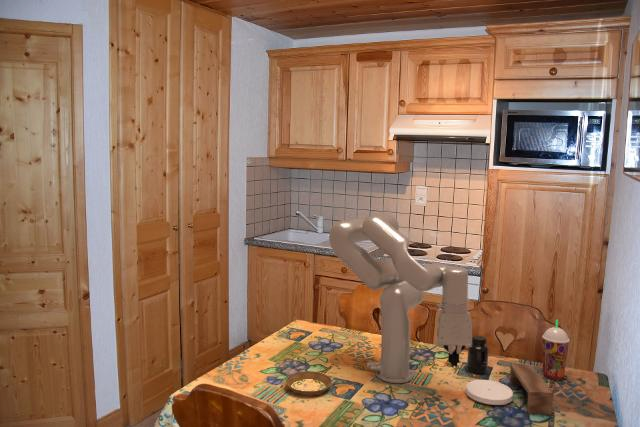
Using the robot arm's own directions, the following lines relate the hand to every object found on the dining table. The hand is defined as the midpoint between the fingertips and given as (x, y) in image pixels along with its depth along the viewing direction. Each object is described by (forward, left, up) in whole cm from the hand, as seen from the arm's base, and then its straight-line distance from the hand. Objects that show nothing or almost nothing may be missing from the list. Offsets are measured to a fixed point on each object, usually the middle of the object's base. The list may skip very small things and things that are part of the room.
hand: (453, 364), depth 163 cm
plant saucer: (-45, 0, -10) cm, 46 cm away
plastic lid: (+11, 0, -11) cm, 15 cm away
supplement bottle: (+12, +19, -10) cm, 25 cm away
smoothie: (+37, +17, -10) cm, 42 cm away
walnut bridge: (+23, 0, -10) cm, 25 cm away
